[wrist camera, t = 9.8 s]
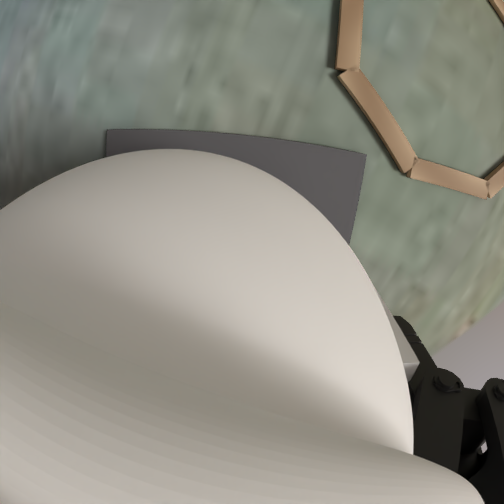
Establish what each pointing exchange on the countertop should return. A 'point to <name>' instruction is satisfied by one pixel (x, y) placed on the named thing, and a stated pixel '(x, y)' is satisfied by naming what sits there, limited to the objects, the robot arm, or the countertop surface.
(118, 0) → the countertop surface
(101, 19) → the countertop surface
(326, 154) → the mat
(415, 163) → the cork ring
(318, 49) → the countertop surface
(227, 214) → the jar
